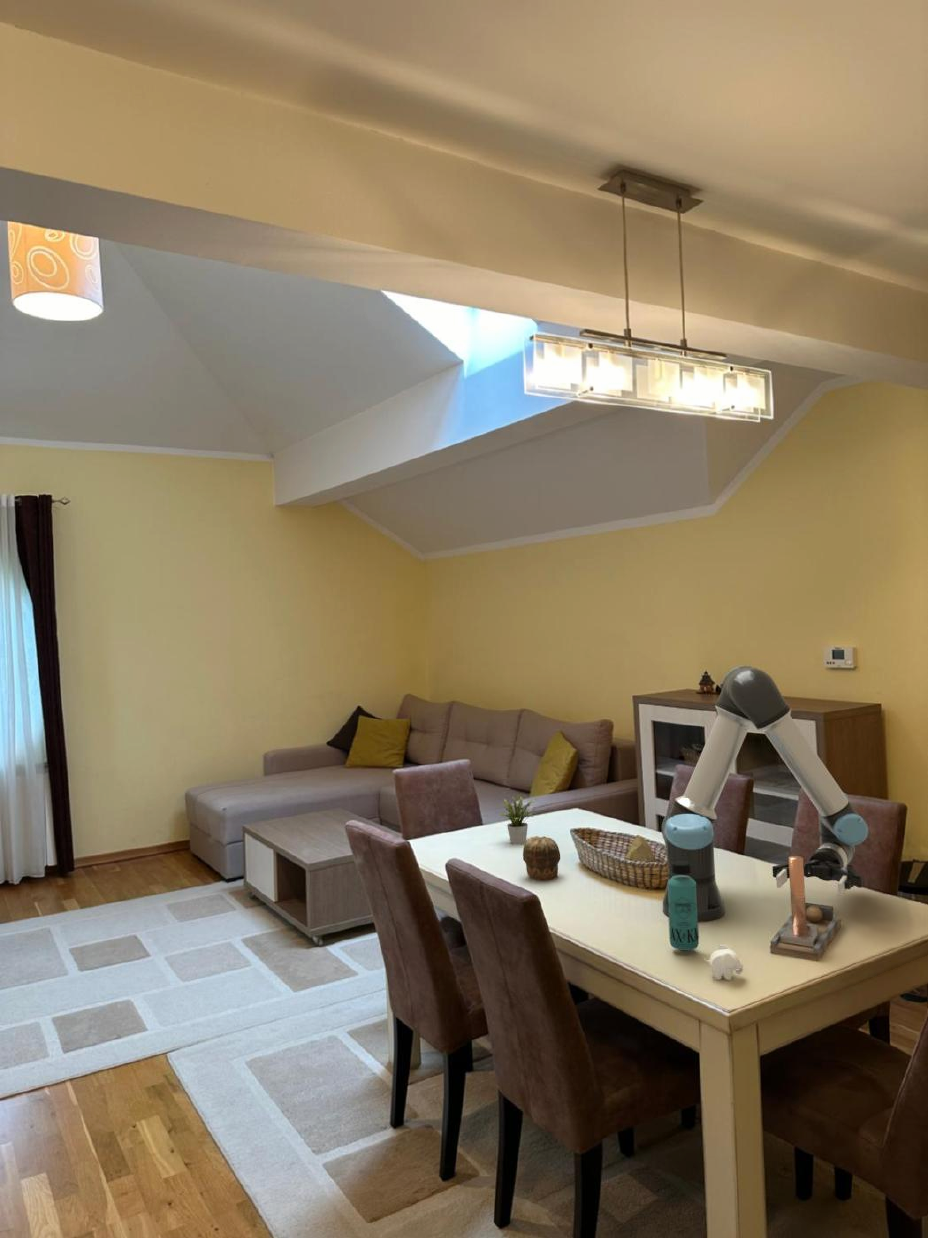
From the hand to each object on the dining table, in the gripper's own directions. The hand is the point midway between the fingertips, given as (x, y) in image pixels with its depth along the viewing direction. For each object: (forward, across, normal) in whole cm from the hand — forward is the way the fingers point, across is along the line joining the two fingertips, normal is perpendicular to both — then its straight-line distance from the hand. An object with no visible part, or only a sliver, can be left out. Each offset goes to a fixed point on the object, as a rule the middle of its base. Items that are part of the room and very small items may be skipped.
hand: (808, 885), depth 199 cm
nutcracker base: (+4, 0, -11) cm, 12 cm away
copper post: (+10, 0, -9) cm, 14 cm away
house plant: (-43, +104, -11) cm, 114 cm away
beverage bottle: (+23, +22, -11) cm, 34 cm away
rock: (-30, +55, -11) cm, 64 cm away
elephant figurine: (+33, +10, -11) cm, 36 cm away
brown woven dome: (-12, +78, -11) cm, 80 cm away
